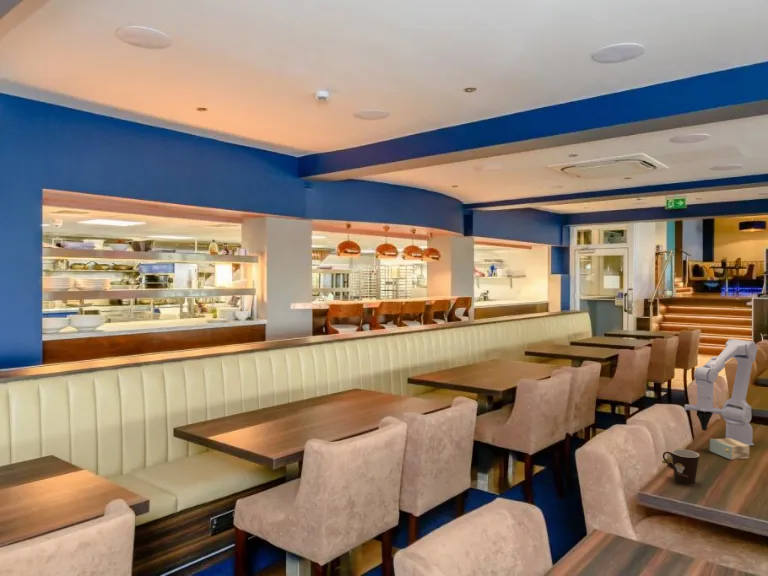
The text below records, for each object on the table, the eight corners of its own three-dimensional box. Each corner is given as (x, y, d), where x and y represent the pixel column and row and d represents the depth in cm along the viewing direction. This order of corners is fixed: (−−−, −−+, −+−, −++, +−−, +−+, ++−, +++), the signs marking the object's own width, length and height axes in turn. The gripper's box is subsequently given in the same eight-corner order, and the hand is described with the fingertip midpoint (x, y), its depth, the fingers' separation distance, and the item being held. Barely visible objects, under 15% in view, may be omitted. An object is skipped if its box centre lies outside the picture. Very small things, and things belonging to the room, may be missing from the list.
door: (710, 450, 234) (711, 438, 234) (731, 458, 224) (731, 446, 224) (706, 450, 234) (707, 438, 234) (727, 459, 224) (727, 446, 224)
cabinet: (729, 450, 235) (729, 438, 235) (749, 458, 226) (749, 445, 225) (712, 451, 234) (712, 439, 234) (731, 459, 224) (731, 447, 224)
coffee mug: (704, 485, 199) (705, 456, 199) (681, 486, 198) (682, 458, 197) (681, 472, 211) (682, 445, 210) (660, 474, 209) (660, 447, 209)
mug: (678, 460, 224) (689, 442, 219) (683, 479, 216) (695, 461, 211) (659, 454, 225) (669, 437, 220) (663, 473, 217) (674, 455, 212)
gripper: (683, 396, 235) (682, 428, 235) (723, 401, 225) (723, 435, 226) (686, 392, 240) (686, 424, 241) (726, 397, 231) (726, 431, 232)
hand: (704, 429), depth 234 cm, fingers closed
